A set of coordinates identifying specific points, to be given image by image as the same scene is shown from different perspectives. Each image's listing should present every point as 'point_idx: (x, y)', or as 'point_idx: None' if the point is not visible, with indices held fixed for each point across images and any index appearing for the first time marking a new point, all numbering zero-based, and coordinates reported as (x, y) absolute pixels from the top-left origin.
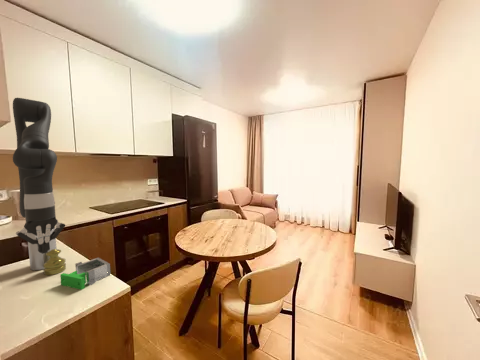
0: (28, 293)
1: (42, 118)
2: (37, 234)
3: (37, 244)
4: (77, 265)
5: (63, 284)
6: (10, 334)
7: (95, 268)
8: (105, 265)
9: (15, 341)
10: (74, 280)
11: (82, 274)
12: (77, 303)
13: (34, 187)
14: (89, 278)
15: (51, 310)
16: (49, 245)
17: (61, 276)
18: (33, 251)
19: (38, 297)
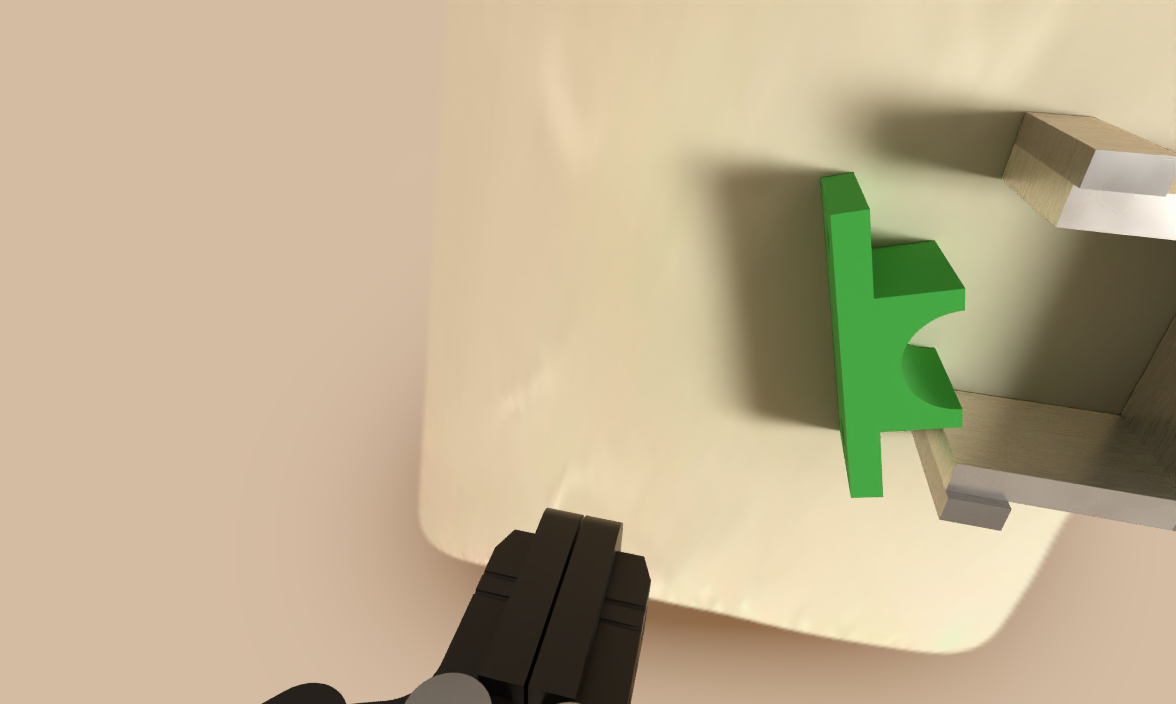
0: (598, 52)
1: None
2: None
3: (440, 672)
4: (1068, 210)
5: (823, 218)
6: (439, 472)
7: (1053, 488)
8: (1154, 525)
9: (449, 534)
10: (842, 401)
11: (925, 428)
12: (722, 540)
13: None
14: (929, 473)
15: (612, 469)
16: (630, 698)
17: (830, 224)
18: None
19: (622, 225)
